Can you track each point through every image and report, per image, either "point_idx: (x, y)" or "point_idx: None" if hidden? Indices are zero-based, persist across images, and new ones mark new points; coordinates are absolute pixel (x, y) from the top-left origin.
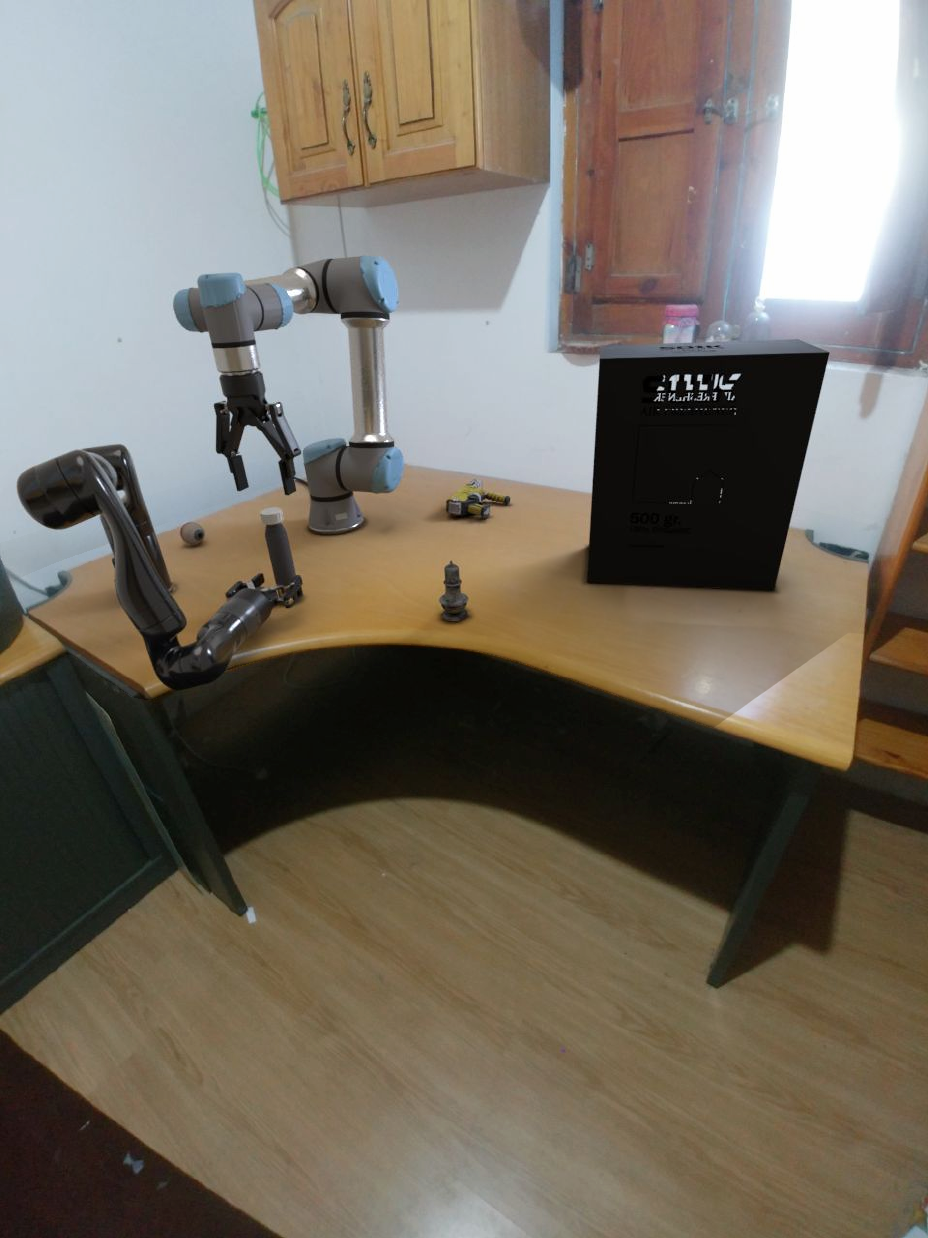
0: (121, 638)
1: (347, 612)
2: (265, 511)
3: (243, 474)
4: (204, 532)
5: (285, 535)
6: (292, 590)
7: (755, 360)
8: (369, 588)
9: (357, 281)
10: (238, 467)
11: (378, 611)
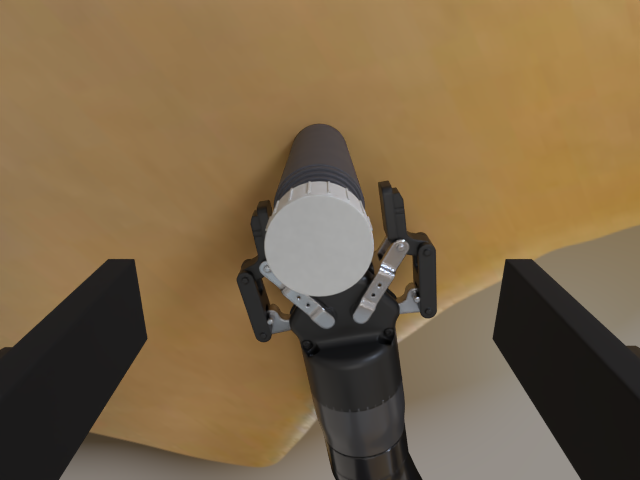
0: None
1: (504, 168)
2: (294, 259)
3: (92, 334)
4: None
5: (364, 205)
6: (427, 281)
7: None
8: (514, 18)
9: None
10: (64, 417)
11: (585, 141)
